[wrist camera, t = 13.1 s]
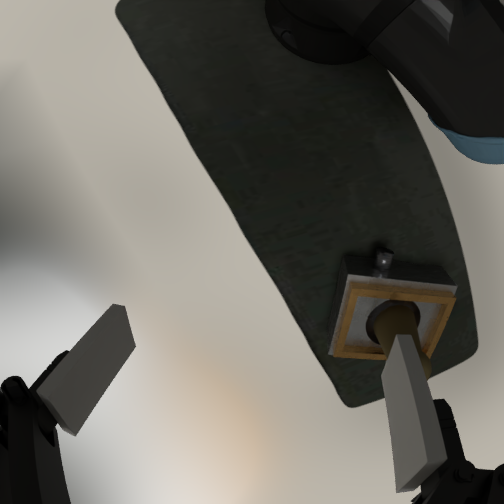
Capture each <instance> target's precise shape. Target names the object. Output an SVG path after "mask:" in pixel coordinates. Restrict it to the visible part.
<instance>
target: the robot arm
mask: <svg viewBox="0 0 504 504" xmlns="http://www.w3.org/2000/svg"><path fill="white" fill-rule="evenodd" d="M265 12H266V17H267V20H268V23H269V26H270V28H271V30H272V32H273V34H274V35H275V37H276V38H277V39H278V40H279V42H280V43H281V44H282V45H283V46H285V47H286V48H287V49H288V50H290V51H291V52H293V53H294V54H296V55H298V56H300V57H302V58H304V59H306V60H309V61H312V62H316V63H321V64H329V65H339V64H347V63H351V62H354V61H357V60H360V59H362V58H364V57H365V56H367V55H368V54H370V53H371V54H372V55H373V56H374V57H375V58H376V59H377V60H378V61H379V62H380V63H381V64H382V65H383V66H384V67H385V68H387V69H388V70H389V71H390V72H391V73H392V74H393V75H394V76H395V78H396V79H397V80H398V81H399V82H400V83H401V84H402V85H403V86H404V87H405V88H406V89H407V90H408V91H409V92H410V93H411V94H412V96H413V97H414V98H415V99H416V100H417V101H418V102H419V104H420V105H421V106H422V107H423V108H424V109H425V111H426V112H427V113H428V117H429V119H430V120H431V122H432V123H433V124H434V125H435V126H436V127H437V128H438V129H440V130H441V131H442V132H443V133H444V134H445V135H446V136H447V138H448V139H449V140H450V141H451V143H452V144H453V145H454V146H455V148H456V149H457V150H458V151H460V152H461V153H462V154H464V155H465V156H466V157H468V158H470V159H472V160H474V161H477V162H480V163H485V164H504V0H266V1H265ZM135 347H136V346H135V342H134V338H133V335H132V331H131V328H130V324H129V320H128V316H127V312H126V309H125V306H121V305H116V304H112V306H111V307H110V308H109V309H108V310H107V311H106V312H105V313H104V314H103V315H102V316H101V317H100V318H99V319H98V320H97V322H96V323H95V324H94V325H93V326H92V327H91V328H90V329H89V330H88V331H87V333H86V334H85V335H84V336H83V337H82V338H81V339H80V340H79V341H78V342H77V344H76V345H75V346H74V347H73V348H72V349H71V350H70V351H67V350H66V351H64V352H63V353H61V354H59V355H58V356H57V357H56V358H55V359H54V361H52V364H50V365H49V366H48V367H47V369H46V370H45V371H44V372H43V373H42V374H41V375H40V376H39V378H38V379H37V380H36V381H35V382H34V383H33V385H32V386H31V387H30V388H29V389H28V387H27V386H26V384H25V382H24V381H23V379H22V378H21V377H19V376H11V377H8V378H7V379H6V380H4V381H3V383H2V384H1V387H0V389H1V390H0V504H71V502H70V498H69V494H68V490H67V485H66V481H65V476H64V471H63V466H62V460H61V454H60V448H59V441H58V434H57V430H56V428H55V426H56V425H57V423H58V424H59V425H60V427H61V428H62V429H63V430H64V431H66V432H68V433H69V434H72V435H73V436H76V435H77V433H78V432H79V430H80V429H81V427H82V426H83V424H84V422H85V421H86V419H87V418H88V416H89V415H90V413H91V412H92V410H93V409H94V407H95V406H96V404H97V403H98V401H99V400H100V398H101V397H102V395H103V394H104V392H105V391H106V389H107V388H108V386H109V385H110V383H111V382H112V380H113V379H114V378H115V376H116V375H117V373H118V372H119V370H120V369H121V367H122V366H123V364H124V363H125V362H126V360H127V359H128V357H129V356H130V354H131V353H132V352H133V350H134V348H135ZM381 378H382V383H383V389H384V395H385V401H386V407H387V413H388V420H389V427H390V435H391V443H392V451H393V460H394V470H395V482H396V493H400V492H407V491H413V490H415V489H416V488H417V487H418V486H420V485H421V493H419V494H418V495H417V496H416V497H415V498H413V499H412V500H411V502H413V503H412V504H504V464H502V465H500V466H498V467H497V468H496V469H495V470H485V469H477V468H475V466H474V465H473V464H472V463H471V462H469V461H467V460H466V459H465V456H464V452H463V448H462V444H461V441H460V437H459V433H458V430H457V428H456V423H455V420H454V416H453V413H452V409H451V407H450V406H449V405H448V403H447V402H446V401H445V399H435V400H433V399H432V396H431V393H430V389H429V386H428V383H427V379H426V376H425V373H424V370H423V367H422V364H421V361H420V358H419V355H418V352H417V349H416V347H415V344H414V341H413V338H412V336H411V335H399V334H396V337H395V340H394V343H393V346H392V348H391V351H390V354H389V357H388V359H387V362H386V365H385V367H384V370H383V373H382V375H381Z"/></svg>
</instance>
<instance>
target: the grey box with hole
mask: <svg viewBox="0 0 504 504" xmlns="http://www.w3.org/2000/svg"><path fill="white" fill-rule="evenodd" d="M393 255H394V252H393V251H392V250H390V249H387V248H383V247H379V248H377V249H376V254H375V258H370V257H361V256H353V255H345V254H343V256H342V262H341V267H340V272H339V277H338V282H337V287H336V291H335V296H334V300H333V305H332V309H331V314H330V318H329V322H328V326H327V341H328V354H330V355H333V357H344V358H358V359H375V360H387V358H386V356H385V354H384V352H383V349H382V347H381V345H380V343H379V341H378V339H377V337H376V335H375V332H374V329H373V326H374V321H375V319H376V317H377V316H378V315H379V313H380V312H381V311H383V310H384V309H386V308H388V307H390V306H393V305H403V306H407V307H408V308H410V309H411V310H412V311H413V313H414V316H415V320H416V325H417V329H418V334H419V339H420V344H421V349H422V352H424V353H425V354H426V355H427V356H428V358H429V359H430V357H431V355H432V353H433V351H434V349H435V347H436V344H437V342H438V340H439V338H440V336H441V334H442V331H443V329H444V327H445V325H446V322H447V320H448V318H449V315H450V313H451V310H452V308H453V305H454V303H455V300H456V297H455V296H454V294H455V292H456V289H457V285H456V284H455V282H454V281H453V280H452V278H451V277H450V276H449V275H448V273H447V272H446V271H445V270H444V268H443V267H441V266H433V265H426V264H418V263H410V262H402V261H394V260H392V259H393Z"/></svg>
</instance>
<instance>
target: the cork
mask: <svg viewBox="0 0 504 504" xmlns="http://www.w3.org/2000/svg"><path fill="white" fill-rule="evenodd" d="M373 329H374V332H375V335H376V337H377V339H378V341H379V343H380V345H381V347H382V349H383V352H384V354H385V356H386V358H387V359H388V357H389V354H390V351H391V348H392V346H393V343H394V340H395V337H396V334H399V335H411V336H412V338H413V341H414V344H415V347H416V349H417V352H418V355H419V358H420V361H421V364H422V367H423V370H424V373H425V376H426V379H427V380H428V379H429V377H430V374H431V371H432V370H431V362H430V359H429V358H428V356H427V355H426V354H425V353H424V352H422V349H421V344H420V339H419V334H418V329H417V325H416V320H415V316H414V313H413V311H412V310H411V309H410V308H408V307H407V306H403V305H393V306H390V307H388V308H386V309H384V310H383V311H381V312H380V313H379V315H378V316H377V317H376V319H375V321H374V326H373Z"/></svg>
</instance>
